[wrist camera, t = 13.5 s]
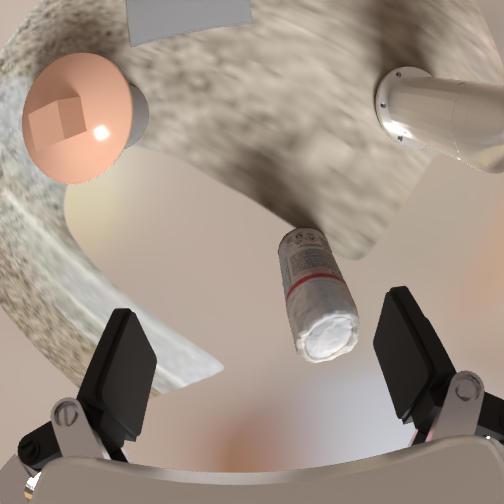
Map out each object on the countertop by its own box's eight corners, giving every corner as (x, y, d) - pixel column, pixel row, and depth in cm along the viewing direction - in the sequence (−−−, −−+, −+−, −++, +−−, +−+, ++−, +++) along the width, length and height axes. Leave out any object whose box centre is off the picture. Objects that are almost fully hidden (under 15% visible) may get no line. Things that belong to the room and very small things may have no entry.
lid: (123, 33, 20) (99, 25, 16) (146, 165, 28) (128, 181, 24) (19, 83, 21) (-11, 88, 16) (43, 193, 29) (19, 211, 24)
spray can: (265, 257, 46) (277, 358, 29) (293, 215, 43) (325, 308, 26) (308, 277, 49) (335, 374, 32) (337, 239, 45) (383, 331, 28)
